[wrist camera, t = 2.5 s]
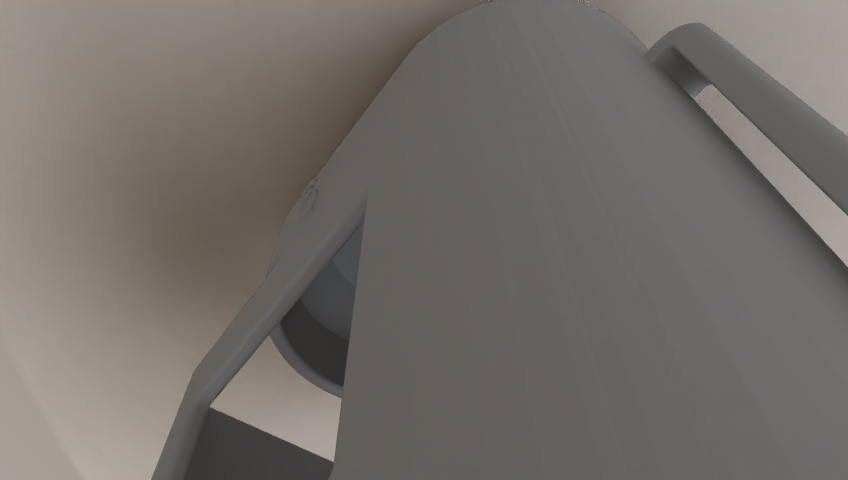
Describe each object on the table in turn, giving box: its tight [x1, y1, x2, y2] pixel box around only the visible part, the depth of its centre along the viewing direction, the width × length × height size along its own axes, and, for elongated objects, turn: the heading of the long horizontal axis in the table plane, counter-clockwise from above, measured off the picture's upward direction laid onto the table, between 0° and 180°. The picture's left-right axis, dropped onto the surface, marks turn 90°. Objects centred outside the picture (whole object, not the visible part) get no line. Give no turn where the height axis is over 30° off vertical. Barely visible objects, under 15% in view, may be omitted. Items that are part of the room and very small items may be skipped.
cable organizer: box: [151, 0, 848, 480], centre depth 10 cm, size 7×12×12 cm, turn 143°
